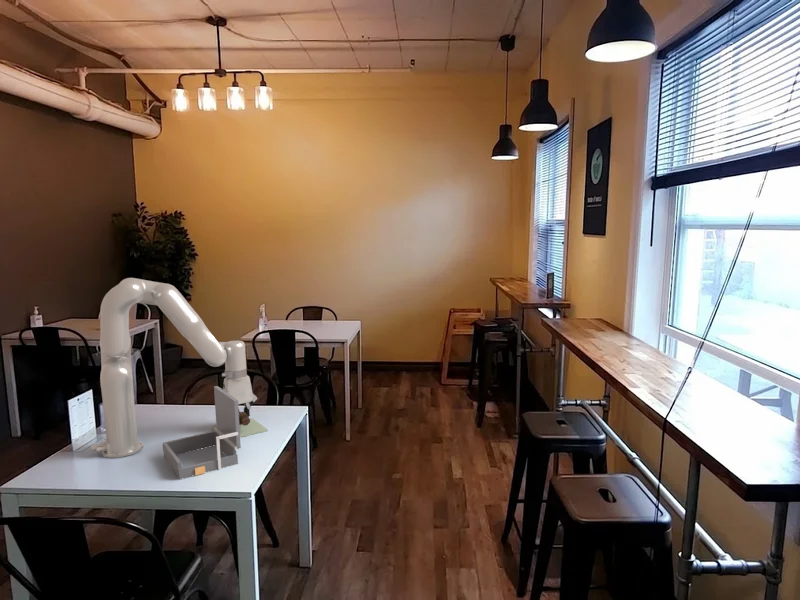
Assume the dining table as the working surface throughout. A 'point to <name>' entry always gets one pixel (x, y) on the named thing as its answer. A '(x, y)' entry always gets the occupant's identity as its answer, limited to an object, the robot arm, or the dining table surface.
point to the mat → (250, 428)
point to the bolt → (243, 418)
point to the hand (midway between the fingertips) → (238, 419)
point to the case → (210, 439)
